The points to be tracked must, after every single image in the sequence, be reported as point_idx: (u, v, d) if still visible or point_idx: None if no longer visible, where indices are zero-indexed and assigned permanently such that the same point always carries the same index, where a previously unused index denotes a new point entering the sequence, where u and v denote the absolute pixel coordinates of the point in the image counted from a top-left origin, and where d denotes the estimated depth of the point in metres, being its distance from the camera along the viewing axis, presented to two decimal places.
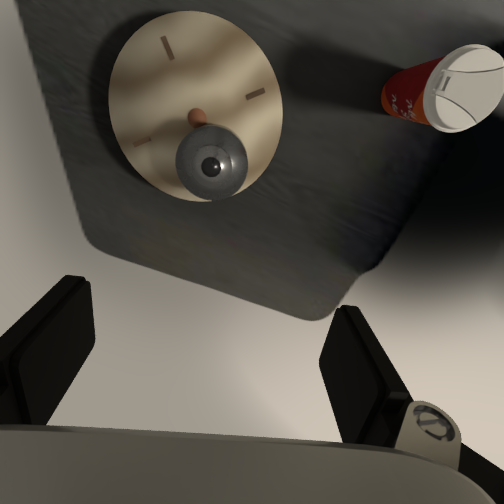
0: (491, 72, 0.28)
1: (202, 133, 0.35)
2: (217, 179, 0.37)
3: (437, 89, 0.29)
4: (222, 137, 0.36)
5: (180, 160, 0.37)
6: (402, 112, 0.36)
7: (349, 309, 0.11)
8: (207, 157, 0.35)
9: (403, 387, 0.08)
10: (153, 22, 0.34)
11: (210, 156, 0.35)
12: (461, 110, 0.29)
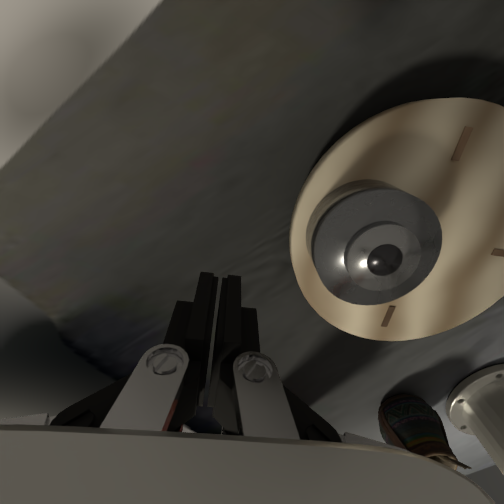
0: None
1: (426, 265, 0.22)
2: (360, 257, 0.20)
3: None
4: (399, 287, 0.23)
5: (422, 212, 0.20)
6: None
7: (230, 278, 0.11)
8: (401, 262, 0.20)
9: (238, 339, 0.08)
10: None
11: (397, 268, 0.21)
12: None
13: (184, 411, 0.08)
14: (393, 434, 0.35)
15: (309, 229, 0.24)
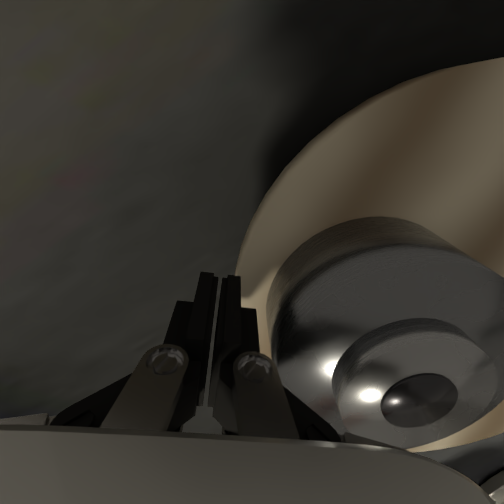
0: None
1: None
2: (367, 397, 0.09)
3: None
4: None
5: (501, 302, 0.09)
6: None
7: (230, 278, 0.11)
8: (454, 406, 0.10)
9: (237, 339, 0.08)
10: None
11: (444, 414, 0.10)
12: None
13: (184, 411, 0.08)
14: None
15: (269, 306, 0.13)
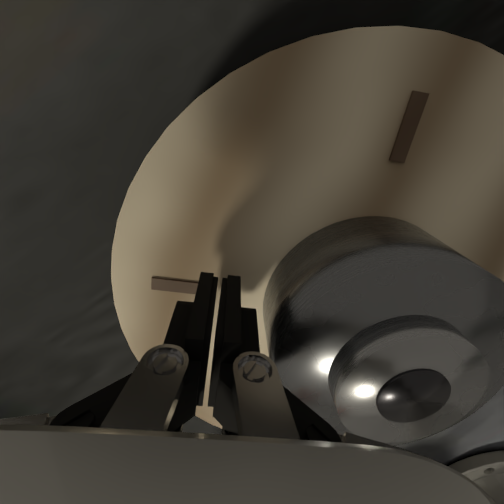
0: None
1: None
2: (363, 392, 0.10)
3: None
4: None
5: (493, 300, 0.10)
6: None
7: (230, 278, 0.11)
8: (446, 401, 0.10)
9: (237, 339, 0.08)
10: None
11: (437, 408, 0.10)
12: None
13: (184, 411, 0.08)
14: None
15: (267, 304, 0.13)
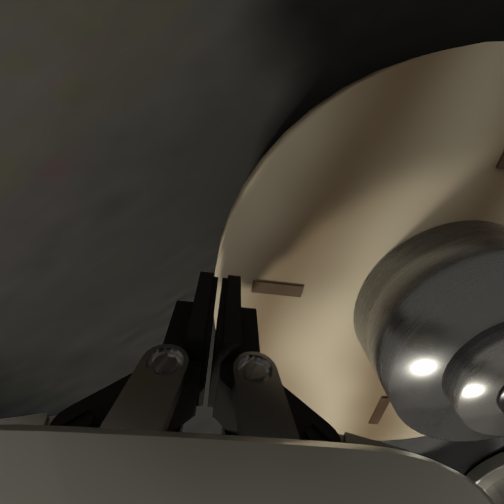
0: None
1: None
2: (487, 388, 0.10)
3: None
4: None
5: None
6: None
7: (230, 278, 0.11)
8: None
9: (238, 339, 0.08)
10: None
11: None
12: None
13: (184, 411, 0.08)
14: None
15: (366, 304, 0.13)
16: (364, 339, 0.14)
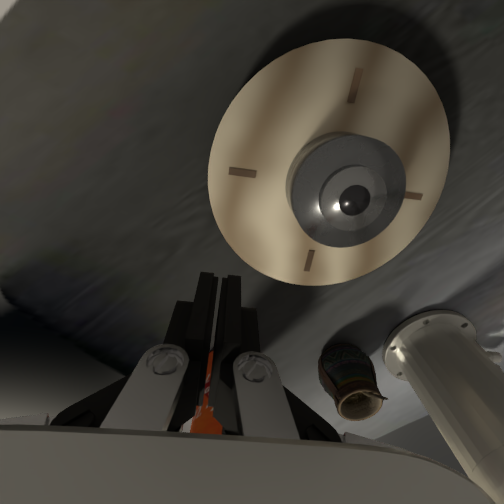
0: None
1: (392, 209, 0.24)
2: (332, 197, 0.23)
3: None
4: (368, 230, 0.25)
5: (388, 157, 0.22)
6: None
7: (230, 278, 0.11)
8: (369, 203, 0.23)
9: (238, 339, 0.08)
10: (437, 195, 0.28)
11: (366, 208, 0.23)
12: None
13: (184, 411, 0.08)
14: (327, 378, 0.37)
15: (288, 177, 0.26)
16: (288, 197, 0.26)
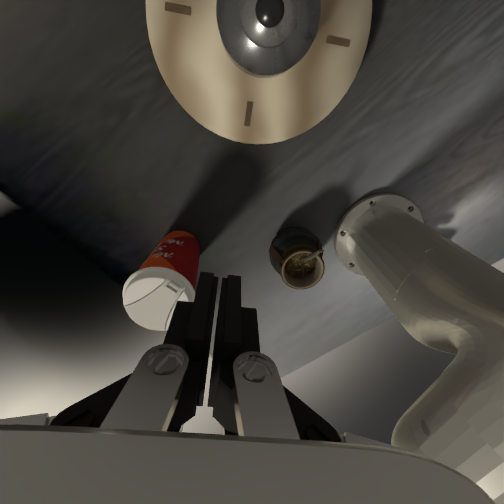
0: (165, 320, 0.31)
1: (310, 30, 0.26)
2: (249, 6, 0.24)
3: (170, 281, 0.30)
4: (290, 54, 0.27)
5: None
6: (163, 246, 0.36)
7: (230, 278, 0.11)
8: (284, 13, 0.25)
9: (238, 339, 0.08)
10: (365, 42, 0.30)
11: (281, 19, 0.25)
12: (142, 296, 0.30)
13: (184, 411, 0.08)
14: (274, 251, 0.39)
15: None
16: None
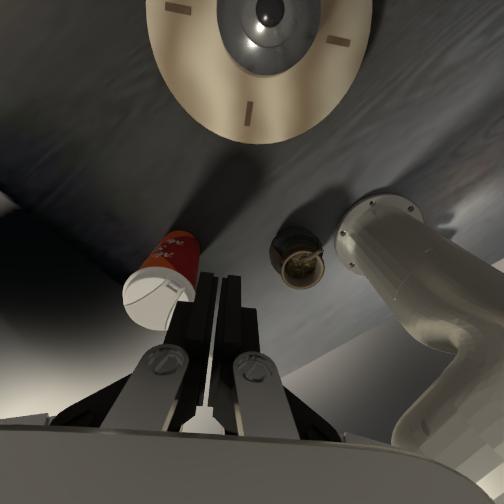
0: (165, 320, 0.31)
1: (310, 30, 0.26)
2: (249, 6, 0.24)
3: (170, 281, 0.30)
4: (290, 54, 0.27)
5: None
6: (163, 246, 0.36)
7: (230, 278, 0.11)
8: (284, 12, 0.25)
9: (238, 339, 0.08)
10: (365, 42, 0.30)
11: (281, 19, 0.25)
12: (142, 296, 0.30)
13: (184, 411, 0.08)
14: (274, 251, 0.39)
15: None
16: None
